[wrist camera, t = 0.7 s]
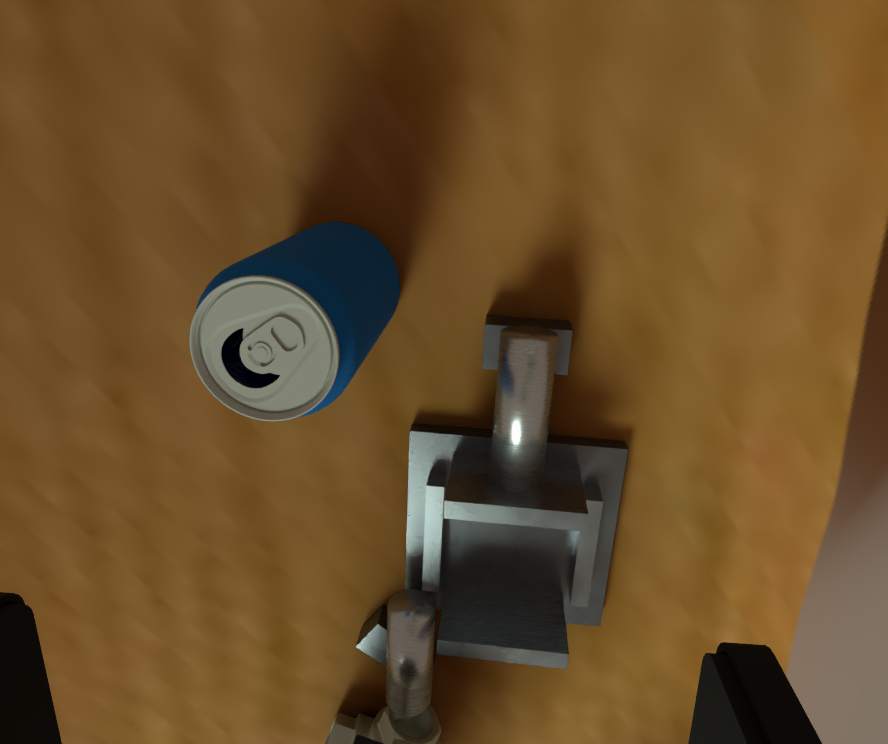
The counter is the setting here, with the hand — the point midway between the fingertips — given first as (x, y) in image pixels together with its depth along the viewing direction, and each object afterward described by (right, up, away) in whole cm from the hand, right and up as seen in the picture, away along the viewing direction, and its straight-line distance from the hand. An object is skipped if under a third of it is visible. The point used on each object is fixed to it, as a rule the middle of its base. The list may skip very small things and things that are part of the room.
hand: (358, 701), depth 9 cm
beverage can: (-4, +9, +26) cm, 28 cm away
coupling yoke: (+4, -4, +30) cm, 31 cm away
